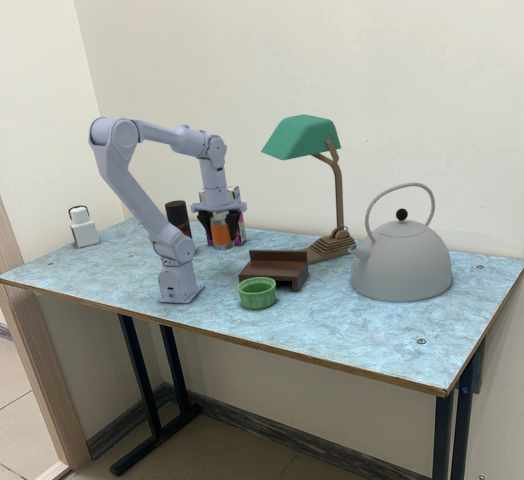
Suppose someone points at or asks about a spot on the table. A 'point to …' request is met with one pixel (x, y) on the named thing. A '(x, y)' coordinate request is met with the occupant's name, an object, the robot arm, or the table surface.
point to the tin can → (220, 232)
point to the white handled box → (82, 227)
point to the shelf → (277, 266)
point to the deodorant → (178, 216)
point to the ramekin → (257, 292)
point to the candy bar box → (233, 196)
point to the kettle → (401, 258)
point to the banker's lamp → (313, 143)
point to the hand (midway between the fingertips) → (223, 239)
